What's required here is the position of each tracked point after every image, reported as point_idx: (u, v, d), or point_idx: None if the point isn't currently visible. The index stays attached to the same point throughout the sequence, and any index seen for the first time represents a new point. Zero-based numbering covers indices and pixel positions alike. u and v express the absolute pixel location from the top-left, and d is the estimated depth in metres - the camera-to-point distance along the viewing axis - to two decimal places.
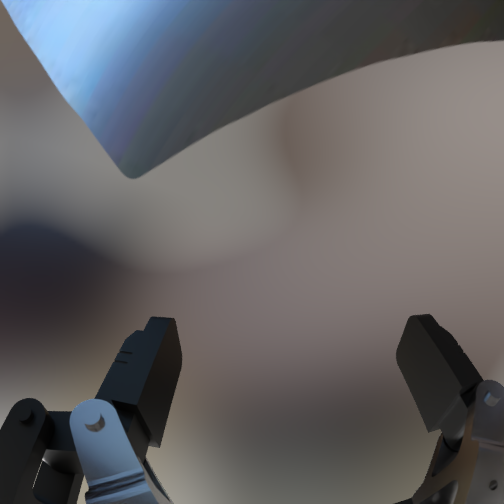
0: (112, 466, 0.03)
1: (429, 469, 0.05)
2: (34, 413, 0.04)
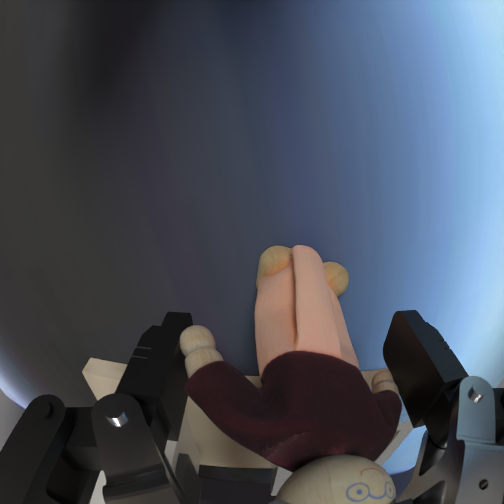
0: (132, 461, 0.04)
1: (416, 468, 0.05)
2: (53, 409, 0.04)
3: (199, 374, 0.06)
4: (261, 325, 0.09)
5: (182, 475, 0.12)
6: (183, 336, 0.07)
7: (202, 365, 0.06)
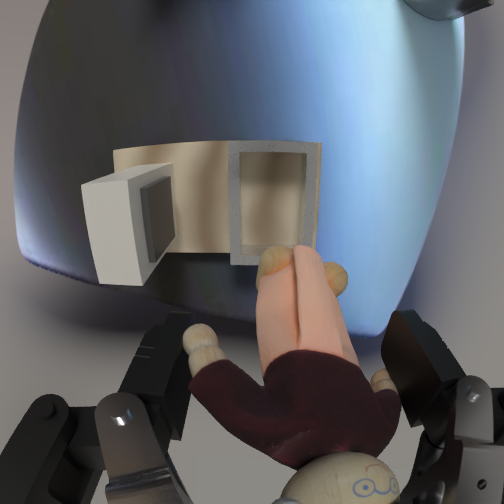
0: (136, 460, 0.04)
1: (414, 468, 0.05)
2: (56, 409, 0.04)
3: (203, 373, 0.06)
4: (263, 324, 0.09)
5: (163, 178, 0.23)
6: (186, 335, 0.07)
7: (206, 363, 0.06)
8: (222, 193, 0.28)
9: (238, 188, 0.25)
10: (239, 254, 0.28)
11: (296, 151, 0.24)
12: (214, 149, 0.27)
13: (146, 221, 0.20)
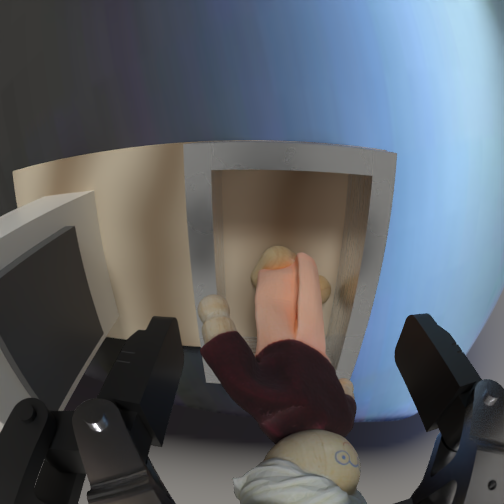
0: (115, 465, 0.03)
1: (428, 469, 0.05)
2: (36, 412, 0.04)
3: (221, 338, 0.07)
4: (263, 311, 0.10)
5: (52, 238, 0.09)
6: (206, 301, 0.08)
7: (223, 331, 0.08)
8: (186, 250, 0.14)
9: (212, 255, 0.11)
10: None
11: (349, 170, 0.10)
12: (166, 161, 0.12)
13: (7, 357, 0.06)
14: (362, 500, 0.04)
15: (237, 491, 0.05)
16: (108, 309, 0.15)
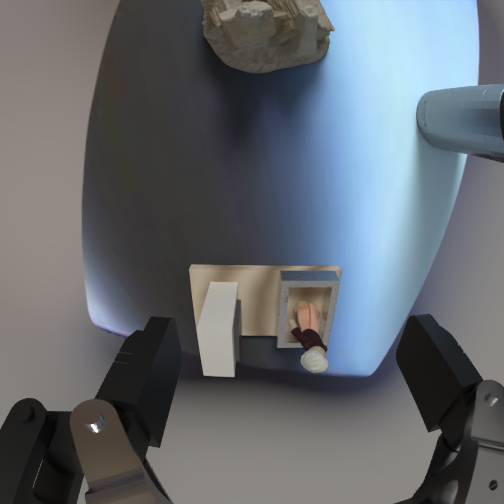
0: (112, 466, 0.03)
1: (429, 469, 0.05)
2: (34, 413, 0.04)
3: (295, 328, 0.35)
4: (301, 321, 0.38)
5: (239, 306, 0.37)
6: (290, 320, 0.36)
7: (296, 326, 0.35)
8: (272, 302, 0.42)
9: (286, 307, 0.39)
10: (283, 342, 0.41)
11: (325, 286, 0.37)
12: (268, 275, 0.40)
13: (236, 342, 0.34)
14: (326, 359, 0.32)
15: (301, 360, 0.33)
16: None
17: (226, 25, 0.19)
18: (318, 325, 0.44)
